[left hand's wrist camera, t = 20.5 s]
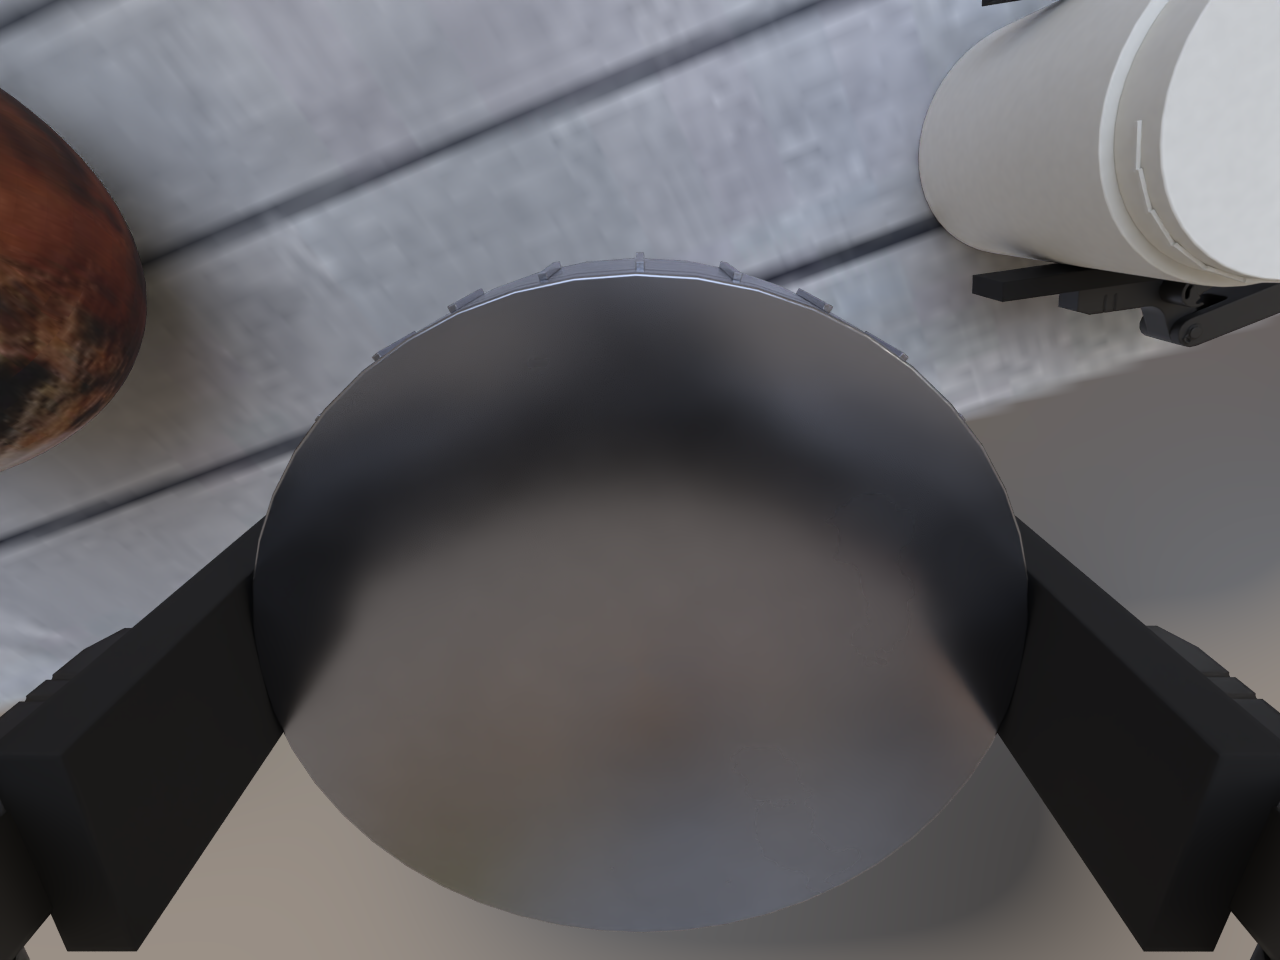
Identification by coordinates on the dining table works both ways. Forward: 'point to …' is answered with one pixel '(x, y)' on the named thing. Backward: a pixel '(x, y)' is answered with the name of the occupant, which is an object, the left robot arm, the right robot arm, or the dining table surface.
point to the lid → (640, 598)
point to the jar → (1117, 140)
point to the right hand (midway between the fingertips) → (992, 147)
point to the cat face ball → (59, 289)
